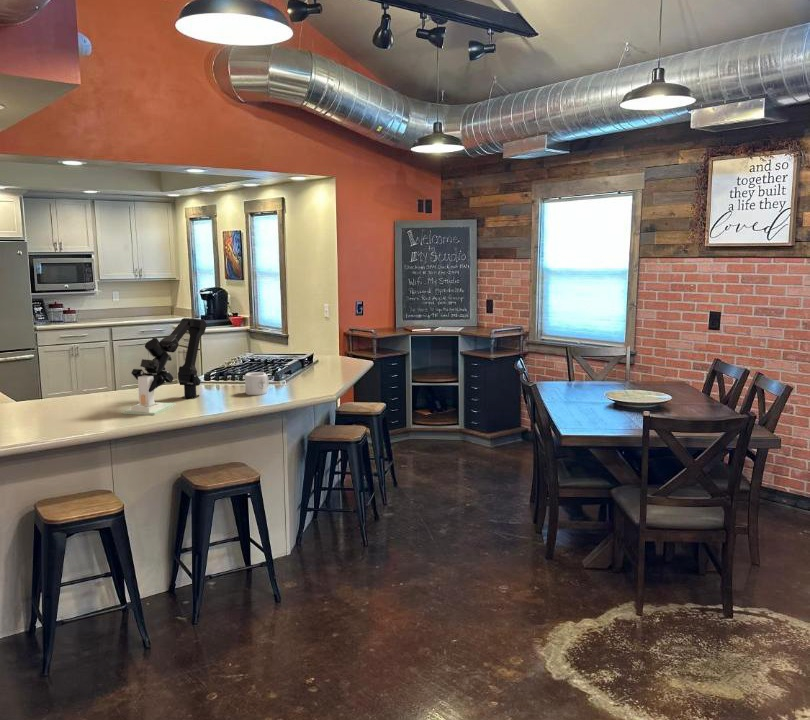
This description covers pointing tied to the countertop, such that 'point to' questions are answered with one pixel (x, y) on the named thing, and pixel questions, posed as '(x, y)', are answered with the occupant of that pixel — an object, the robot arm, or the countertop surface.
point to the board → (165, 406)
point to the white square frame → (146, 408)
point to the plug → (145, 391)
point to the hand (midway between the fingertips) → (144, 391)
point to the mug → (256, 383)
